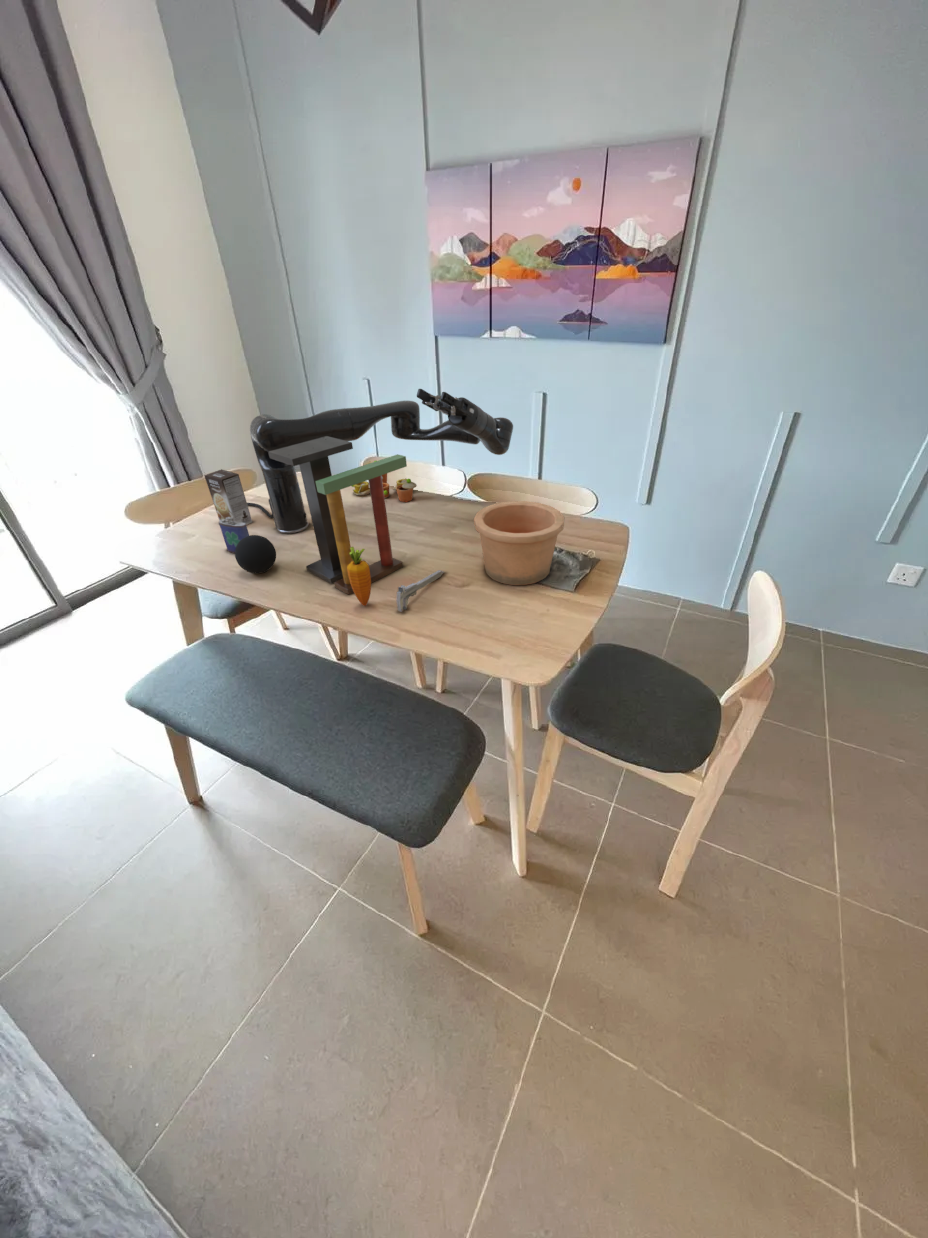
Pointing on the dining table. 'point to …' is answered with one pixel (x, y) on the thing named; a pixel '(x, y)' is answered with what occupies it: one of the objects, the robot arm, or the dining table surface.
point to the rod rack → (382, 531)
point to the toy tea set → (402, 488)
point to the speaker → (255, 554)
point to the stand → (317, 497)
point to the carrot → (359, 576)
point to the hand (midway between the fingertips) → (430, 394)
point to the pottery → (518, 540)
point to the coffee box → (228, 496)
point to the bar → (360, 474)
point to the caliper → (413, 590)
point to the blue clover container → (233, 532)
